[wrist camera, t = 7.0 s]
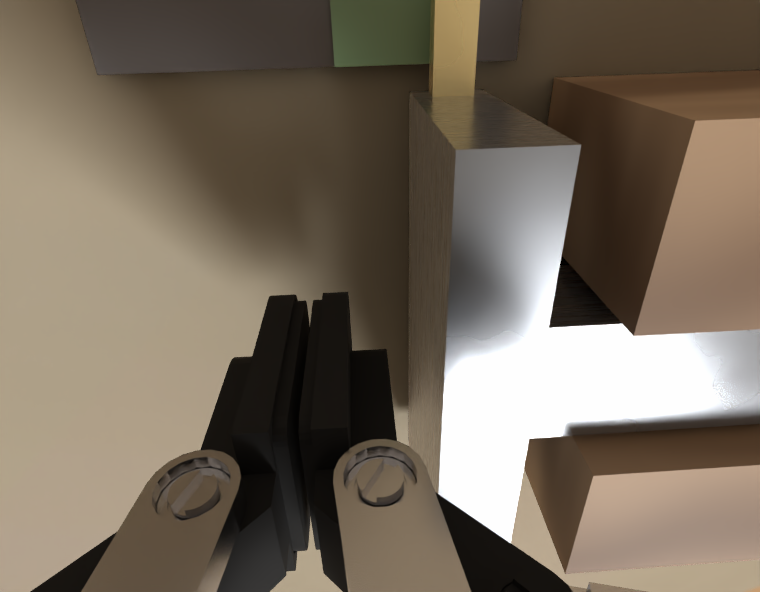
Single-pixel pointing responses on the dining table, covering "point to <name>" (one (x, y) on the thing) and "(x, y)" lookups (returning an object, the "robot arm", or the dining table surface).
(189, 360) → the dining table surface
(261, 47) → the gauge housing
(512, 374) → the grey angular frame piece
